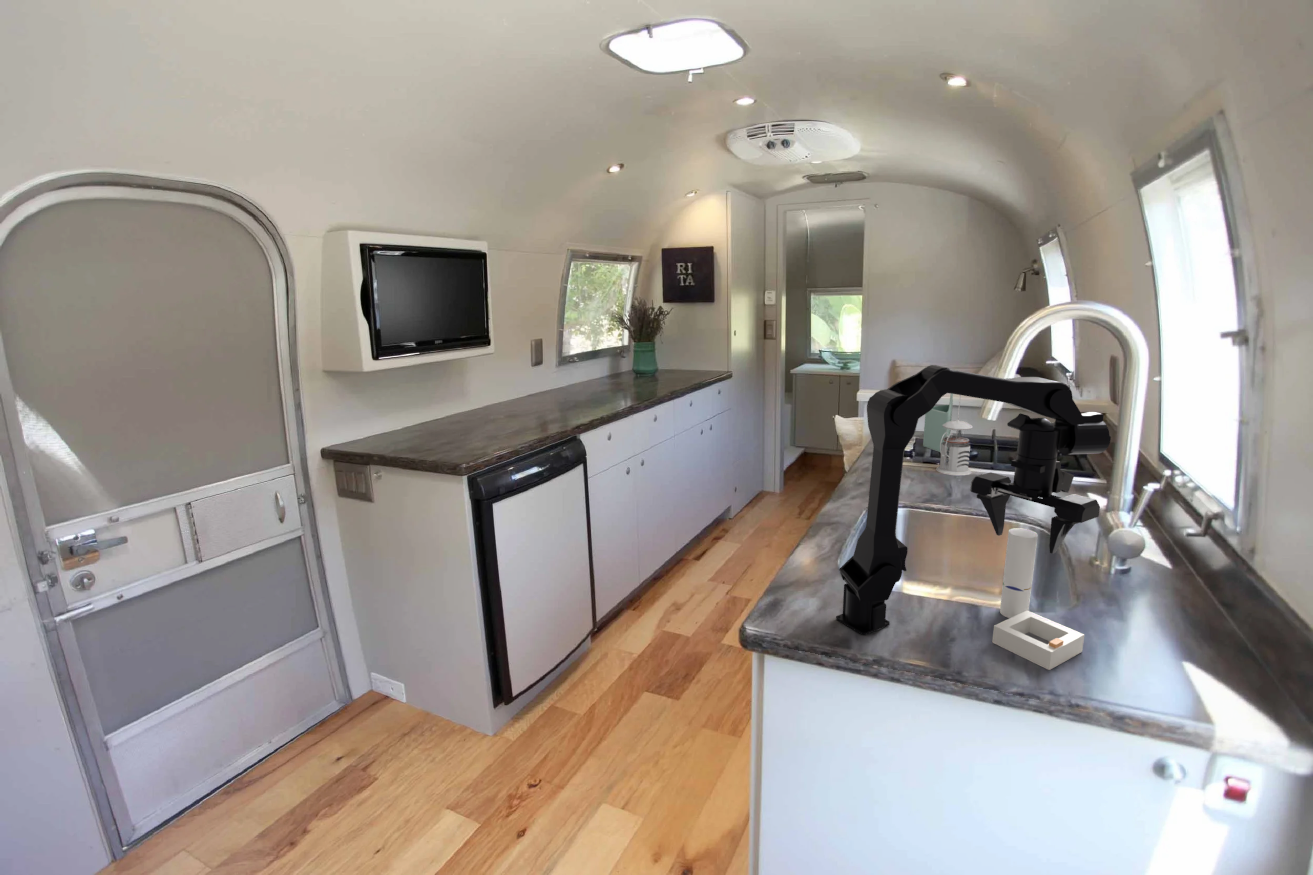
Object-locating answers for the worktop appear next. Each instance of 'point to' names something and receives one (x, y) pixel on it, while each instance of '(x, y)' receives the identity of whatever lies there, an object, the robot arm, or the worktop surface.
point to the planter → (937, 425)
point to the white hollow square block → (1038, 639)
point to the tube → (1018, 571)
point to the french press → (955, 450)
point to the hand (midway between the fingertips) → (1025, 543)
